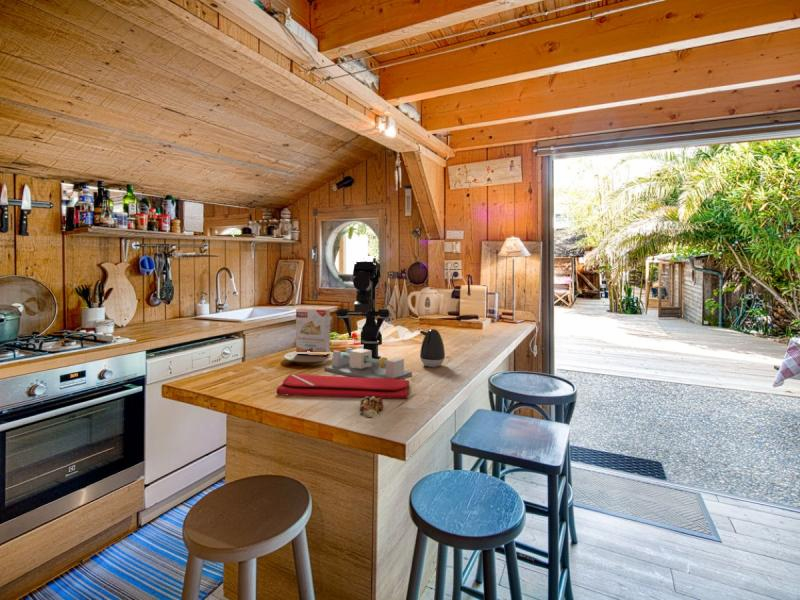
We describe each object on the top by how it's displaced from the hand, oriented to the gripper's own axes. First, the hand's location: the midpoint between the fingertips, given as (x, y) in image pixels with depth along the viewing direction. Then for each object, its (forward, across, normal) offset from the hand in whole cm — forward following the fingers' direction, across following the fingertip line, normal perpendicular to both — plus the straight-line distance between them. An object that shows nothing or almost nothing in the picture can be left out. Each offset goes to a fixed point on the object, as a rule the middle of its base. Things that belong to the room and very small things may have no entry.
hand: (363, 337), depth 148 cm
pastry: (+22, +7, -28) cm, 36 cm away
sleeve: (+10, -2, +13) cm, 17 cm away
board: (+13, +1, +11) cm, 17 cm away
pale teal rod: (+10, 0, +11) cm, 15 cm away
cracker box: (+7, -27, +39) cm, 48 cm away
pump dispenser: (+10, +26, +24) cm, 37 cm away
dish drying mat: (+18, -4, -10) cm, 21 cm away
